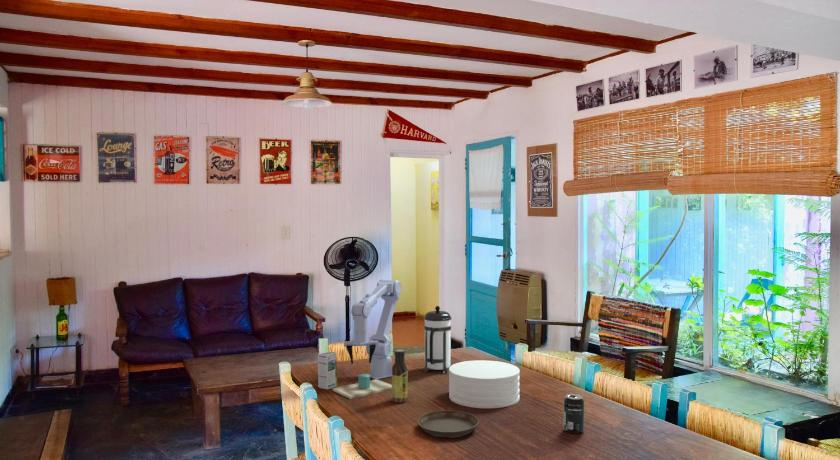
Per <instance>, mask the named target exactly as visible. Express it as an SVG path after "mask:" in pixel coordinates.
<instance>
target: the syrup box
mask: <svg viewBox="0 0 840 460" xmlns="http://www.w3.org/2000/svg"><path fill="white" fill-rule="evenodd" d="M337 362H338V361H337V353H336V352H334V351H329V350H328V351H324V352H320V353H317V382H318V383H317V384H318V385H317V386H318V388H319V389H324V390H330V389H333V388H336V387H338V369H337V367H338V366H337Z"/></svg>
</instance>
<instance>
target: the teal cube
mask: <svg viewBox="0 0 840 460" xmlns="http://www.w3.org/2000/svg"><path fill="white" fill-rule="evenodd" d="M369 374H370V373H362V374H361V373H360V374H358V375H357V379H358V380H357V383H358V388H359V389H368V388H370V380H371V377H370V375H369Z"/></svg>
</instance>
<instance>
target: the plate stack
mask: <svg viewBox="0 0 840 460" xmlns="http://www.w3.org/2000/svg"><path fill="white" fill-rule="evenodd" d="M448 373H449V374H448V379H449V380H448V385H449V386H448V393H449V394H448V398H449V399H450V401H451V402H453V403H454V404H458V405H460V406H463V407H464V406H465V407H468V408H477V409H498V408H505V407H510V406H513V405H515V404H517V403H518V402H519V401H520V400H521V399H520V386H521V384H520V380H521V379H520V378H521V377H520V368H519V367H518V366H516V365H515V364H512V363H508V362H504V361H497V360H486V359H485V360H483V359H482V360H481V359H480V360H479V359H478V360H477V359H476V360H466V361H464V360H463V361H460V362H456V363H453V364H451V366H450V367H449V368H448Z"/></svg>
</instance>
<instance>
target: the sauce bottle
mask: <svg viewBox="0 0 840 460" xmlns="http://www.w3.org/2000/svg"><path fill="white" fill-rule="evenodd" d="M405 354H406V351H405V349H395V350H394V362H393V363H394V364H392V376H391V385H392V390H391V401H392V402H394V403H406V402H408V394H409V393H408V387H409V386H408V384H409V381H408V379H409V378H408V376H409V373H408V372H409V371H408V368H407V364H406V360H405Z"/></svg>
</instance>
